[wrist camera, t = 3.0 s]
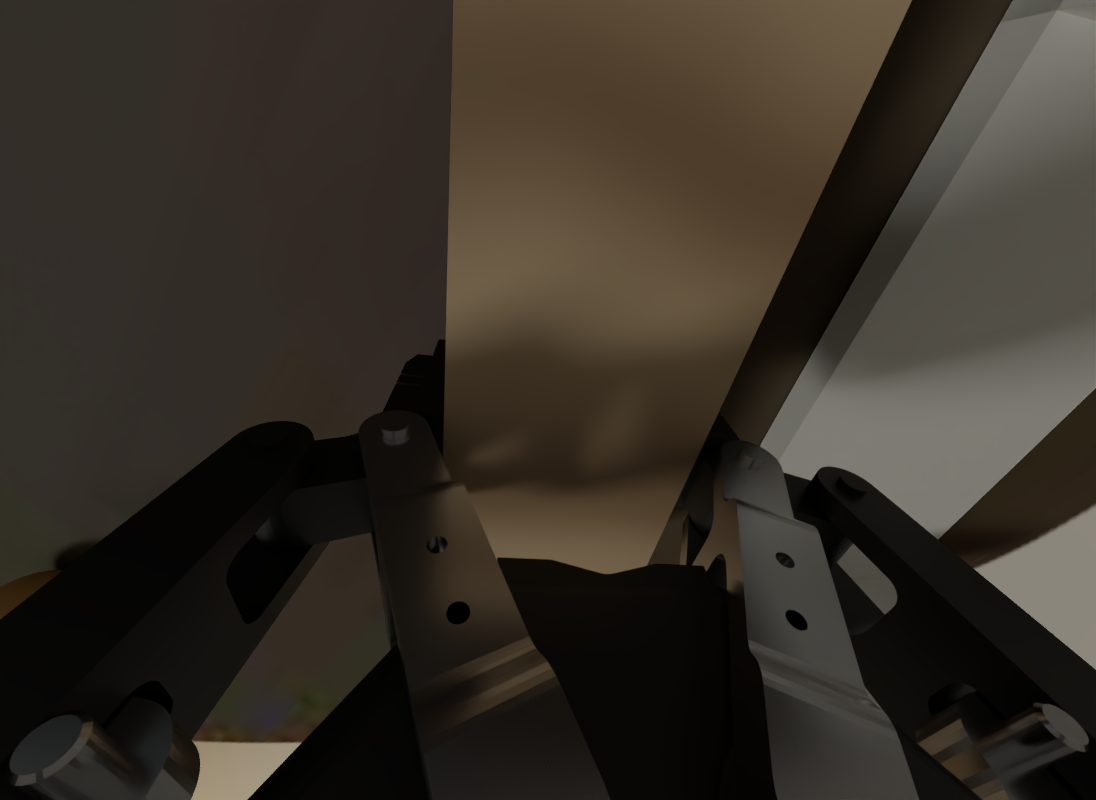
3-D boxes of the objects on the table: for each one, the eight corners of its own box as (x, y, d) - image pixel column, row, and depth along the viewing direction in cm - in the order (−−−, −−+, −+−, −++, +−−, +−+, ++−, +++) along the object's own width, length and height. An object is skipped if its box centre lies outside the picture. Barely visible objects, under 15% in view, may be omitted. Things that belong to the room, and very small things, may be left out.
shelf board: (479, -133, 6) (460, -279, 4) (823, -39, 7) (965, -115, 5) (448, 592, 16) (438, 664, 13) (589, 596, 16) (600, 664, 14)
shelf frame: (1041, -51, 9) (2615, -587, 2) (1366, 48, 10) (2927, -98, 4) (691, 565, 21) (774, 772, 14) (864, 572, 22) (1013, 764, 15)
